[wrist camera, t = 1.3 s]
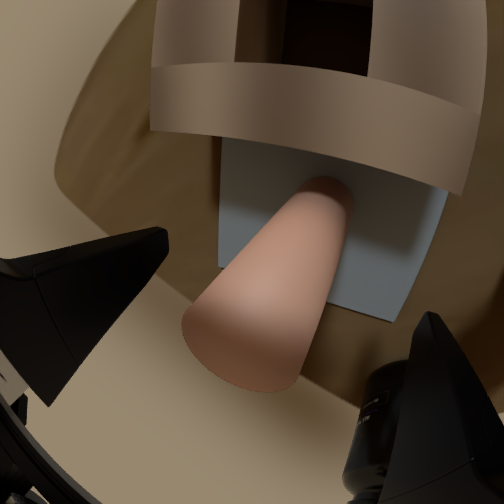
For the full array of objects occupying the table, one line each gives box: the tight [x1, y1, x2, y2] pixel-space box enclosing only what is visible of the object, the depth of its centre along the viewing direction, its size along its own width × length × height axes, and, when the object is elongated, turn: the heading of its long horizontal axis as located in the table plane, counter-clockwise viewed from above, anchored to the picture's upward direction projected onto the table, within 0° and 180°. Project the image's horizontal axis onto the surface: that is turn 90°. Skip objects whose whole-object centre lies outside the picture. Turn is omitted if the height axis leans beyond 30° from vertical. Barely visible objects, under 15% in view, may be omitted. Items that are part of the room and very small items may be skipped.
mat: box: [218, 137, 448, 322], centre depth 15 cm, size 12×9×1 cm
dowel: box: [181, 176, 353, 392], centre depth 10 cm, size 3×3×10 cm
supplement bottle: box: [342, 360, 408, 504], centre depth 13 cm, size 7×7×12 cm
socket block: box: [150, 0, 487, 196], centre depth 8 cm, size 12×10×5 cm
